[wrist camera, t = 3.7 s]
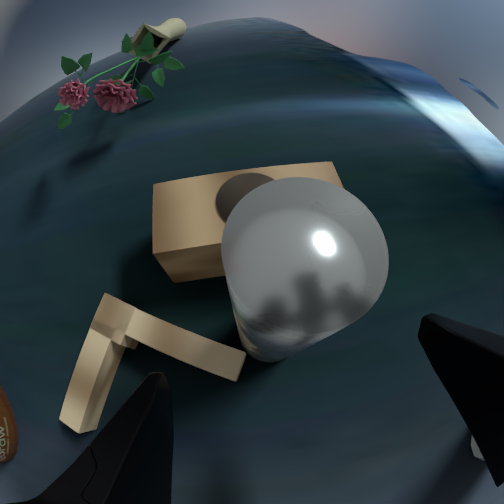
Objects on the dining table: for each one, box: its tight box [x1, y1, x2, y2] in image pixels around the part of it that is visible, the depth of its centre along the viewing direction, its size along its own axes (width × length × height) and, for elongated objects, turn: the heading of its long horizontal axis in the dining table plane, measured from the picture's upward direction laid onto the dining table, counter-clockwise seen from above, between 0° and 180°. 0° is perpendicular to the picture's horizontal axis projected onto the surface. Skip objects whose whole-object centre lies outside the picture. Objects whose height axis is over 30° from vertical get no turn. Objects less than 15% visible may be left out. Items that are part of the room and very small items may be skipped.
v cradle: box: [59, 293, 246, 434], centre depth 16 cm, size 8×14×2 cm, turn 116°
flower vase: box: [54, 18, 186, 128], centre depth 28 cm, size 12×12×35 cm
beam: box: [153, 162, 344, 283], centre depth 19 cm, size 12×5×5 cm, turn 100°
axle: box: [221, 177, 389, 362], centre depth 12 cm, size 4×4×13 cm
